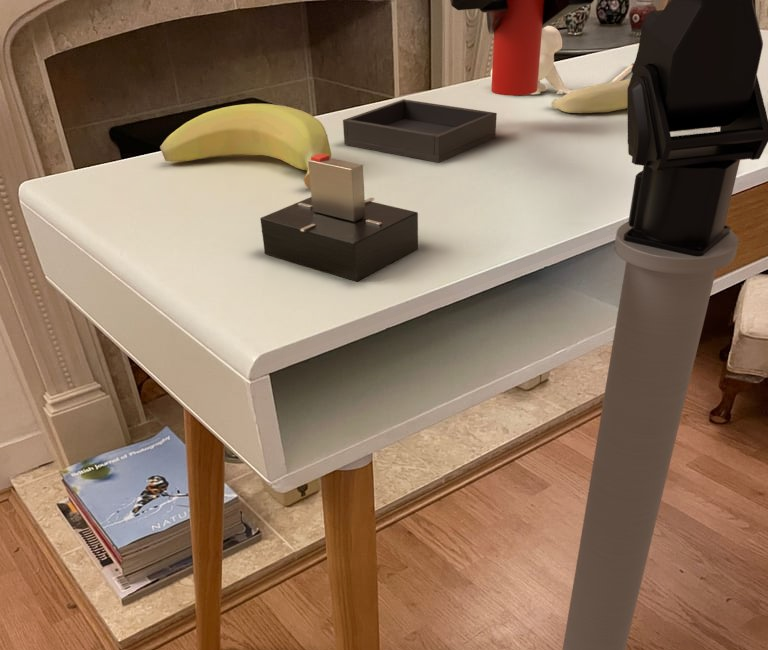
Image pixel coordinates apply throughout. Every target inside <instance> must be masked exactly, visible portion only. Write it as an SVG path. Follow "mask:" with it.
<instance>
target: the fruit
mask: <svg viewBox="0 0 768 650" xmlns="http://www.w3.org/2000/svg"><path fill="white" fill-rule="evenodd" d="M630 79H631V77H630V78H626V79H622V80H621V81H615V82H611V81H609V82H605V83H599V84H595V85H594V84H593V85H590V86H585V87H581V88H578V89H575V90H573V91H572V92H570V93H568V94H565V95H563V96H562V97H560V98H554V99H553V100H552V101H551V107H552V108H555V109H558V110H560V111H561V112H564V113H571V114H596V113H612V112H614V111H621V110H626V109H628V107H627V90H628V86H629V83H630Z"/></svg>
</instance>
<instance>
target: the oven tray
mask: <svg viewBox="0 0 768 650" xmlns="http://www.w3.org/2000/svg"><path fill="white" fill-rule="evenodd" d="M497 116H498V113H497V112H492V111H486V110H479V109H473V108H466V107H459V106H453V105H445V104H439V103H431V102H424V101H417V100H411V99H405V98H402V99H400V100H397V101H395V102H391V103H388V104H385V105H382V106H379V107H376V108H374V109H371V110H368V111H365V112H362V113H360V114H356V115H354V116H353V115H352V116H351V117H348V118H344V119H343V120H342V128H343V140H344V142H343V143H344V145H346V146H350V147H356V148H361V149H366V150H370V151H377V152H382V153H387V154H393V155H398V156H401V157H402V156H403V157H408V158H412V159H419V160H423V161H429V162H434V163H441V162H443V161H446V160H447V159H450V158H452V157H454V156H456V155H459V154H461V153H463V152H466V151H468V150H471V149H473V148H475V147H477V146H480V145H482V144H484V143H486V142H488V141H491V140H494V139H495V138H496V135H497Z"/></svg>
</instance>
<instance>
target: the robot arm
mask: <svg viewBox="0 0 768 650" xmlns="http://www.w3.org/2000/svg"><path fill="white" fill-rule="evenodd" d="M594 1H595V0H544V9H543V23H542V29H543V28H544V27H546V26H550V25H551V24H553V23H555V22H556V21H558V20H559V19H561V18H563V17H564V16H566V15H569V14H570V13H573V12H574V11H576V10H579V9H580V8H583V7H585V6H590V5H592V4H593V3H594ZM450 5H451V6H452V7H453V8H454V9H456V10H457V11H468V10H479V11H480V12H481V13H485V14H486V26H487V31H488V34H489V35H494V32H495V31H496V29H497V28H498V26H499V24H500V23H501V21H502V19H503V17H504V16H505V14H506V12H507V10H508V4H507V0H450ZM640 28H641V29H640V36H639V41H638V48H637V53H636V55H635V60H634V62H633V63H634V64H633V67H632V70H631V72H630V73H632V75H631V77H630V78H631V79H630V78H629V79H630V83H629V86H628V90H627V107H628V108H627V150H628V151H627V153H628V155H629V156H630V157H631V163H632V164H634V165H636V166H642V167H643V168H642V170H641V171H640V172H638V173H637V174H636V175H635V178H634V184H633V189H632V190H633V191H632V197H631V203H630V208H629V216H628V221H627V222H628V224H629V226H630V227H633V228H632V229H630V230H629V231H627V232H626V233H625V234H624V238H623V240H624V241H627V242H632V243H636V244H641V245H646V246H650V247H655V248H659V249H664V250H668V251H673V252H677V253H682V254H686V255H691V256H696V257H700V256H703V255H704V254H705V253H707V252H708V251H709V250H710V249H711V248H713V247H714V246H715V245H716V244H717V243H718V242H720V241H721V240H722V239H723V238H724V237H726V236H727V235H728V234H729V233H730V230H731V228H732V227H731V226H730V225H727V224H726V221H727V217H728V213H729V208H730V205H731V199H732V196H733V192H734V188H735V185H736V183H735V182H736V179H737V174H738V171H739V166H740V162H741V161H743V160H751V161H754V160H759V159H761V156H762V155H763V153H764V151H765V149H766V147H767V145H768V114H767V110H766V107H765V102H764V98H763V94H762V90H761V86H760V82H759V78H758V71H759V66H760V61H761V57H762V52H763V48H764V47H763V46H764V41H763V37H762V33H761V28H760V24H759V20H758V16H757V11H756V8H755V4H754V0H670V1H669V2H668V3H667V5H666V6H665V7H664V8H663V9H660V10H659V9H658V10H650V11H649V12H647V15H646V16H645V18H644V20H643V22H642V24H641V27H640ZM714 128H719V131H710V132H700V133H692V134H681V135H672V134H671V133H675V132H685V131H694V130H705V129H714Z"/></svg>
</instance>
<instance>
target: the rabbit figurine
mask: <svg viewBox="0 0 768 650" xmlns="http://www.w3.org/2000/svg"><path fill="white" fill-rule="evenodd" d="M562 48H563V38H562V35H561V33H560V30H558V29H557V28H556V27H555V26H552V25H548V26H546V27H544V28H543V29H542V36H541V49H540V62H539V75H538V88H537V91H536V92H535V93H532V94H531V95H540V94H541V92H546V91H548V90H547V85H546V84H545V83H543V82H541V81H542V80H544V79H545V80H546V81H547V83H549V85H550V86H551V87H552V88H553V89H555V90H556V95H559V94H560V95H563V94H565V95H566V94H568V93H570V92H572V91H574V90H573V89H567V88H566V86H565V83H564V82H563V79H562V77H561V76H560V74H559V72H558V70H557V68H556V66H555V53H557V52H558V51H560V50H562ZM490 78H491V79H492V69H491V70H490Z"/></svg>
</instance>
